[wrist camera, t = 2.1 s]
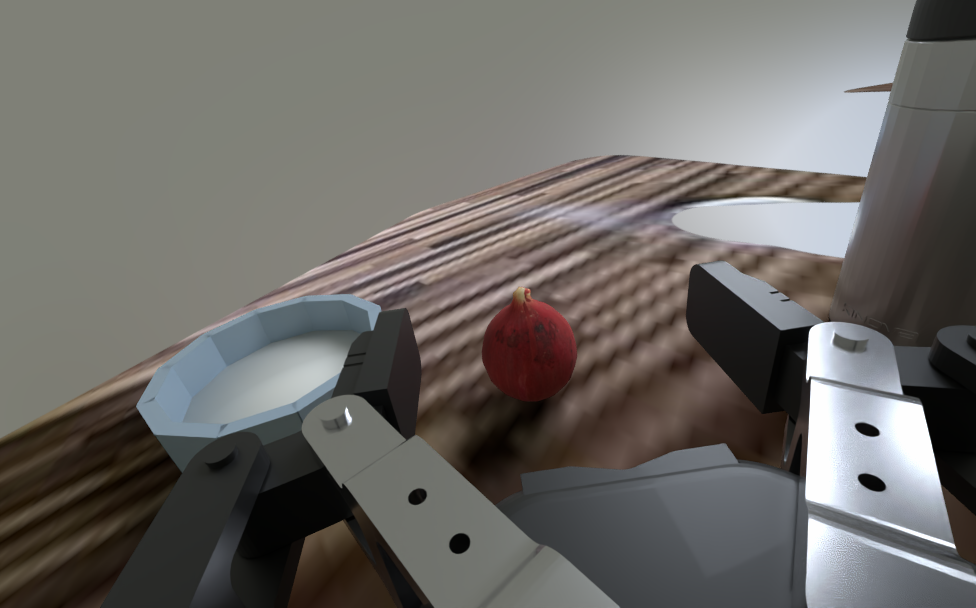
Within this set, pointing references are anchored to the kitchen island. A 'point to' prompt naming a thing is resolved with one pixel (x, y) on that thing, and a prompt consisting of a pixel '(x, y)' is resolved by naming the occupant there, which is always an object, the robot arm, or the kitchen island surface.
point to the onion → (529, 349)
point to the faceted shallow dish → (254, 373)
